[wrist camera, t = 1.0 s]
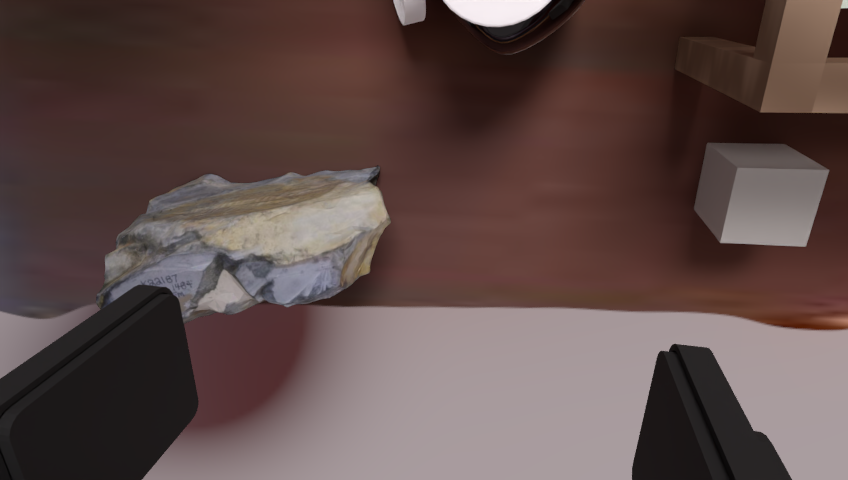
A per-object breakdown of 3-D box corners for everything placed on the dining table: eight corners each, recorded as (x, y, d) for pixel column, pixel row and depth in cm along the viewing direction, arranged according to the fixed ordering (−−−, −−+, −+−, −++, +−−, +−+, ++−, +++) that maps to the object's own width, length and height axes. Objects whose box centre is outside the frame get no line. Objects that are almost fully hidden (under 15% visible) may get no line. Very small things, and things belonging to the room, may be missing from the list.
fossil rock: (387, 140, 45) (383, 211, 32) (404, 238, 49) (407, 337, 36) (153, 175, 46) (53, 260, 32) (191, 270, 50) (115, 379, 36)
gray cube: (706, 142, 37) (737, 167, 32) (784, 143, 37) (829, 169, 31) (693, 208, 40) (719, 242, 34) (766, 211, 39) (805, 246, 33)
